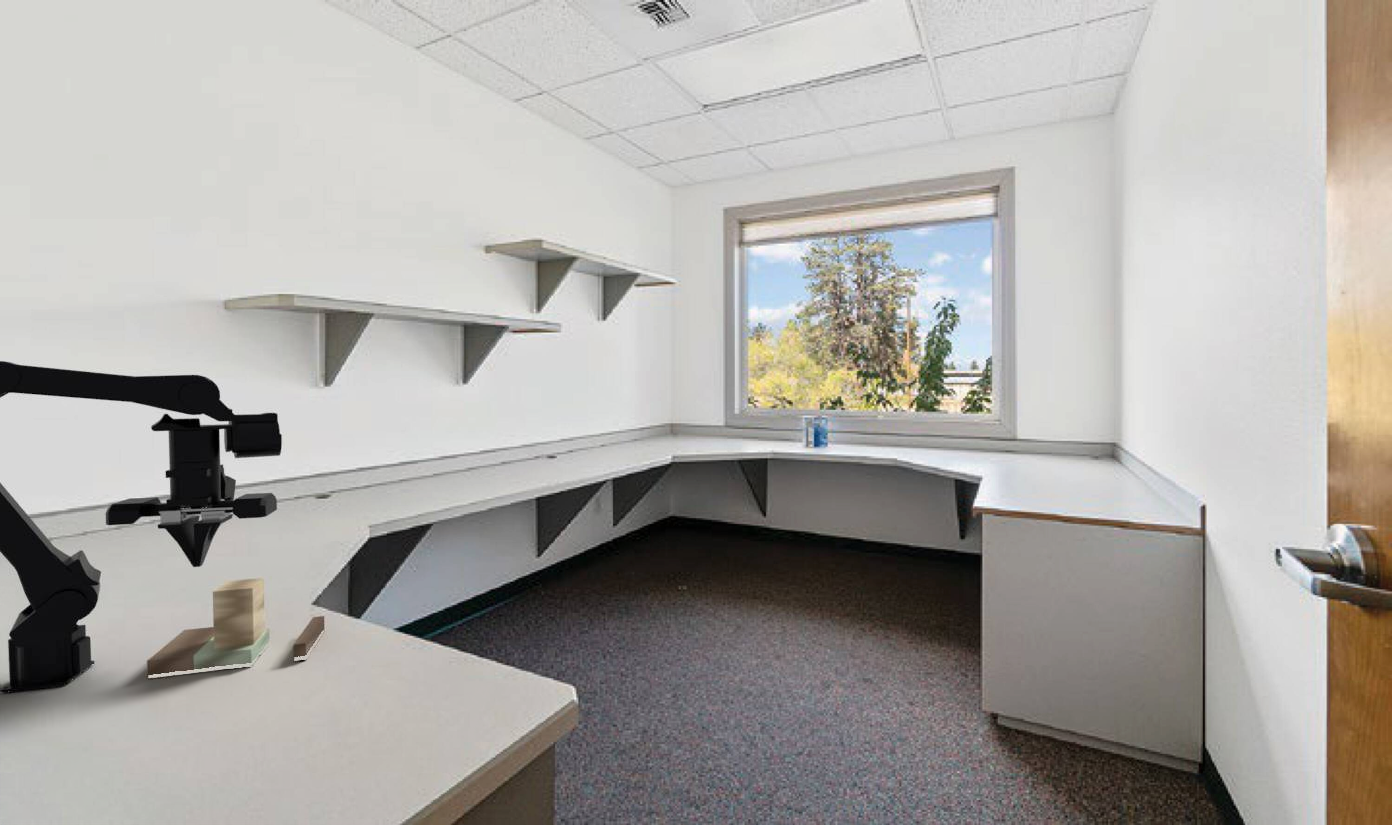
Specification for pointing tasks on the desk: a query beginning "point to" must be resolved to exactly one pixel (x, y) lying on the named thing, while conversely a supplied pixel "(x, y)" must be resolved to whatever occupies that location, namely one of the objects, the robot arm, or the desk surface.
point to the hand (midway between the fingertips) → (197, 566)
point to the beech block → (238, 613)
